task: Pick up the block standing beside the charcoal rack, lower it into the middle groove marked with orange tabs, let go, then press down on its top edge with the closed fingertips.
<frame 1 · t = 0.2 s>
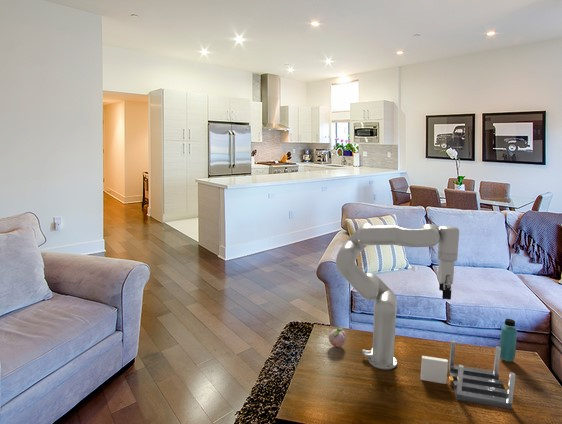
hand: (444, 294, 157), 36 cm above the table, tool pointing down, fingers open, 9 cm apart
rack: (477, 387, 152), on the table
block: (433, 380, 157), on the table
beverage bottle: (505, 360, 172), on the table
decorative fruit: (336, 347, 183), on the table
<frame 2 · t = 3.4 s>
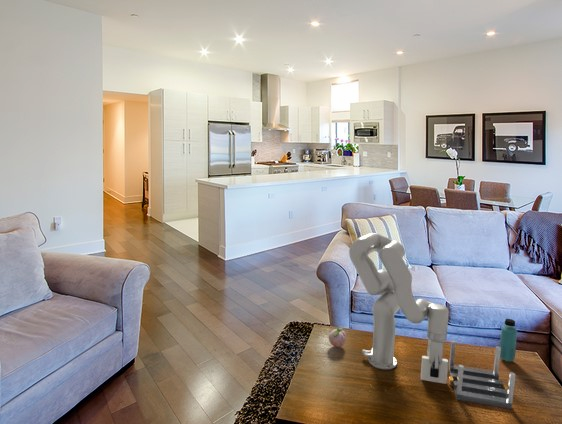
hand: (433, 374, 156), 3 cm above the table, tool pointing down, fingers closed on block, 2 cm apart
block: (433, 380, 157), on the table, touching gripper
everything else where it was.
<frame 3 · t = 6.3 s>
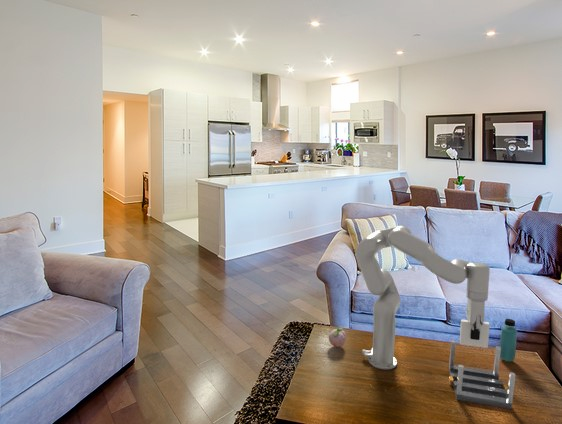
hand: (474, 337, 149), 22 cm above the table, tool pointing down, fingers closed on block
block: (473, 345, 150), point 19 cm above the table, touching gripper
everything else where it was.
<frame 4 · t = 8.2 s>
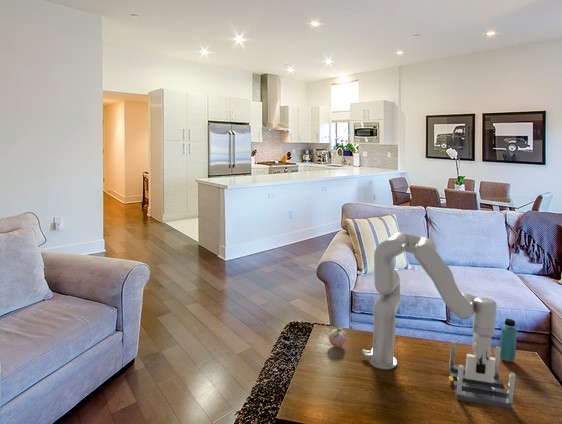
hand: (479, 370, 151), 8 cm above the table, tool pointing down, fingers closed on block
block: (478, 379, 151), point 4 cm above the table, touching gripper
everything else where it was.
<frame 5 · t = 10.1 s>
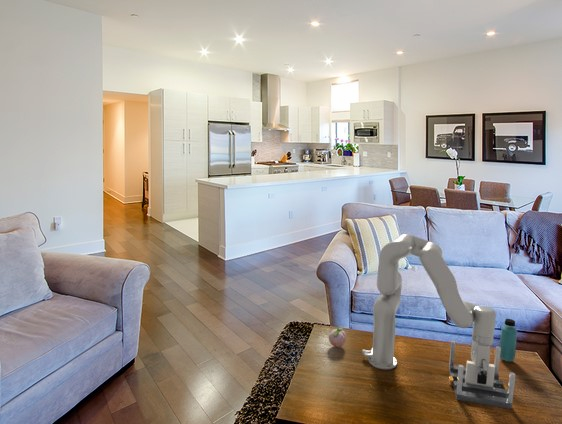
hand: (478, 376, 151), 5 cm above the table, tool pointing down, fingers open, 9 cm apart
block: (478, 386, 152), point 1 cm above the table, touching rack
everything else where it was.
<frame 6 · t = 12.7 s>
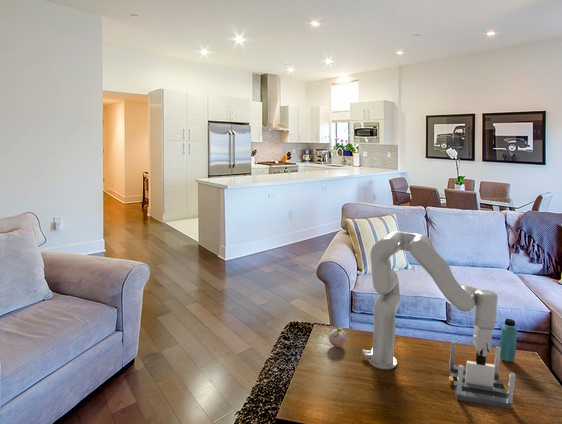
hand: (480, 363, 150), 11 cm above the table, tool pointing down, fingers closed
block: (478, 386, 152), point 1 cm above the table, touching gripper, rack
everything else where it was.
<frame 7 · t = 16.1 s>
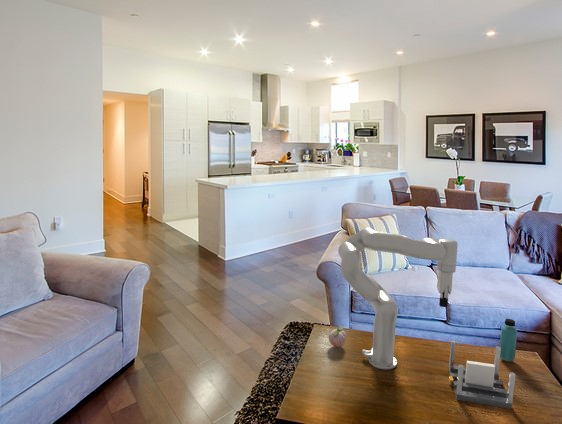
hand: (443, 306, 166), 27 cm above the table, tool pointing down, fingers closed
block: (478, 386, 152), point 1 cm above the table, touching rack
everything else where it was.
at the end: block 0.3 cm off-centre on the rack, point 0.8 cm above the rack's base; block tilted 0°; the gripper is holding nothing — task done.
